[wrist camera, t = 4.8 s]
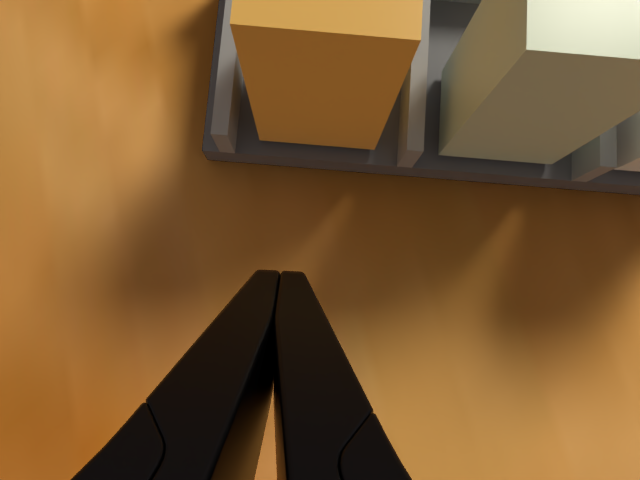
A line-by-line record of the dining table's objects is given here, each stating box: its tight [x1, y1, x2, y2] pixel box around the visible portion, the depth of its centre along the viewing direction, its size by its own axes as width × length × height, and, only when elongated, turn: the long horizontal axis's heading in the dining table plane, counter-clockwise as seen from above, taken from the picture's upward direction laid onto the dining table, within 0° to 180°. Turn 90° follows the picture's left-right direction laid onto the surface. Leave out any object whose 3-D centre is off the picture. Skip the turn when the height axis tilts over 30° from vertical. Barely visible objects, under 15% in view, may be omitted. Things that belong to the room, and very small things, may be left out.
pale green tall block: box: [438, 0, 640, 164], centre depth 16 cm, size 4×4×8 cm
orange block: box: [230, 0, 423, 150], centre depth 16 cm, size 4×4×8 cm
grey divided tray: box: [202, 0, 640, 195], centre depth 20 cm, size 8×23×3 cm, turn 86°
